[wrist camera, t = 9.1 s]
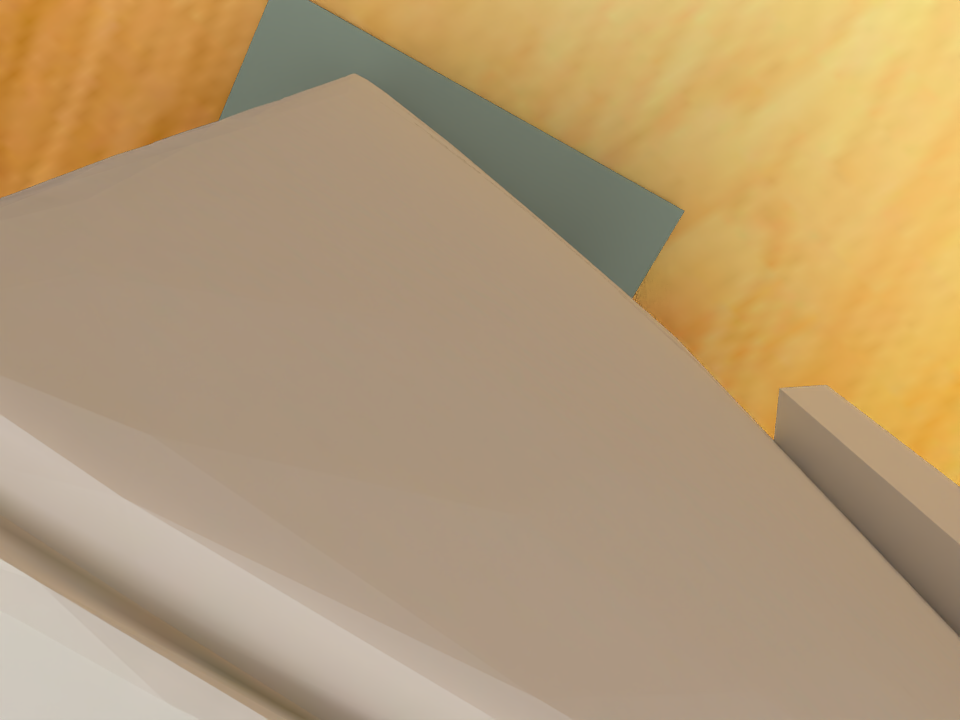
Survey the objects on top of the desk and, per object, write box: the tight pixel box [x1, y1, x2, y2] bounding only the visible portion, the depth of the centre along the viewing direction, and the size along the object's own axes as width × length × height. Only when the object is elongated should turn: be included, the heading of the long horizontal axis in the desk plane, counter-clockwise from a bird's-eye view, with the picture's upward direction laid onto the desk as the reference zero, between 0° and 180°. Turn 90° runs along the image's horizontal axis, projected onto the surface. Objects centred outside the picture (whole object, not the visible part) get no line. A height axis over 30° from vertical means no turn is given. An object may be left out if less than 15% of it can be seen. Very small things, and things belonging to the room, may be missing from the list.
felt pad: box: [219, 0, 684, 298], centre depth 22 cm, size 12×12×1 cm
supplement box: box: [0, 74, 960, 720], centre depth 10 cm, size 9×9×15 cm
